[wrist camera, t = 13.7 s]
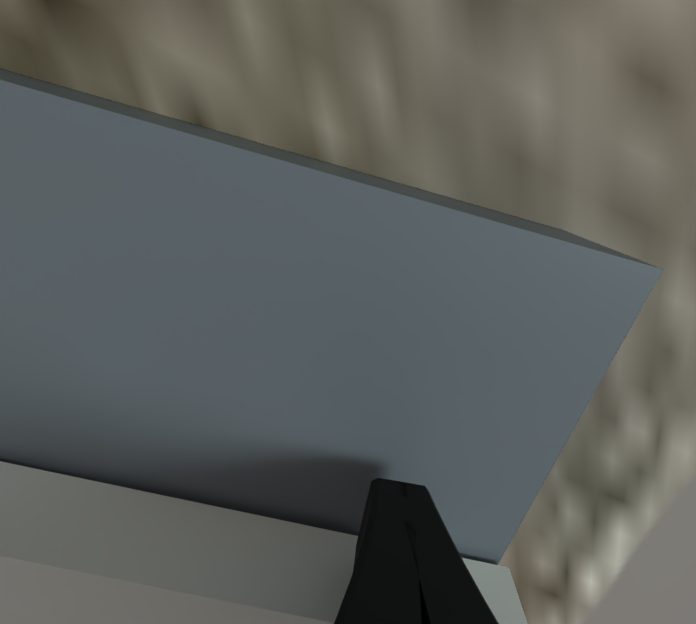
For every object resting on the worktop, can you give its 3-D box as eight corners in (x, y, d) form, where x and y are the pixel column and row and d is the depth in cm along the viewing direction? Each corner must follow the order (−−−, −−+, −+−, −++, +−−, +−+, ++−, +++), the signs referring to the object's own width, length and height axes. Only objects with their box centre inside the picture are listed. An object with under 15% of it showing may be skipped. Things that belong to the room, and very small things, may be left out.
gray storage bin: (360, 677, 18) (358, 813, 14) (-11, 593, 17) (-115, 712, 14) (565, 230, 11) (663, 269, 7) (-44, 56, 10) (-275, 0, 7)
